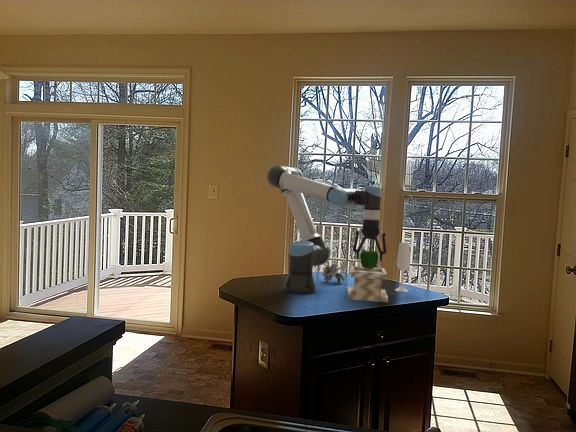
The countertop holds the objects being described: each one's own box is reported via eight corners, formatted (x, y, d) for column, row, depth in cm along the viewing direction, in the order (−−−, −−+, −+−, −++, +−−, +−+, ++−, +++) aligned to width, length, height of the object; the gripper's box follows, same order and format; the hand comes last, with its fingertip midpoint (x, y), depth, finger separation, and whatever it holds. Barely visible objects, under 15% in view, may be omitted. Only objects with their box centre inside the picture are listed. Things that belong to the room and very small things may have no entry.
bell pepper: (363, 269, 210) (364, 247, 210) (357, 266, 218) (358, 245, 218) (380, 269, 212) (381, 248, 211) (373, 266, 220) (375, 245, 219)
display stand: (347, 299, 208) (348, 271, 208) (347, 290, 226) (349, 265, 225) (387, 302, 206) (389, 274, 205) (384, 293, 224) (386, 268, 223)
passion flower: (326, 292, 244) (316, 272, 248) (341, 286, 251) (331, 267, 255) (337, 284, 236) (326, 263, 240) (352, 278, 242) (341, 258, 246)
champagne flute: (393, 288, 236) (395, 242, 234) (405, 289, 236) (408, 242, 235) (397, 291, 229) (400, 243, 227) (410, 292, 229) (413, 244, 228)
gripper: (348, 218, 211) (345, 267, 213) (395, 220, 209) (391, 270, 210) (348, 217, 219) (345, 264, 220) (393, 219, 216) (390, 267, 218)
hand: (368, 267), depth 215 cm, fingers closed on bell pepper, 8 cm apart
